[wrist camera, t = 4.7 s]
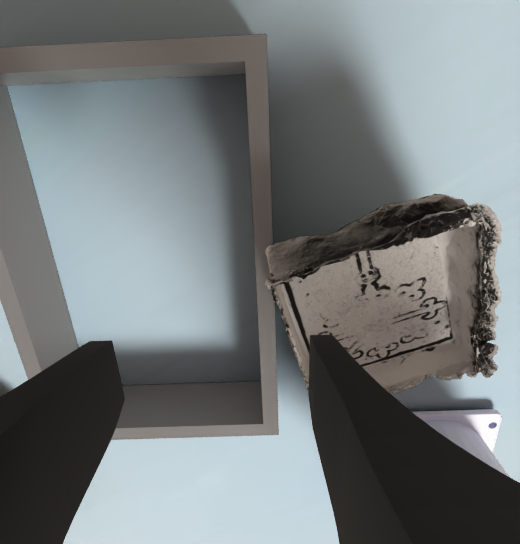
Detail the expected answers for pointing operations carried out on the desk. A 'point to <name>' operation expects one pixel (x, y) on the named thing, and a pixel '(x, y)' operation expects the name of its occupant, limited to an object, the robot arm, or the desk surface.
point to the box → (39, 258)
